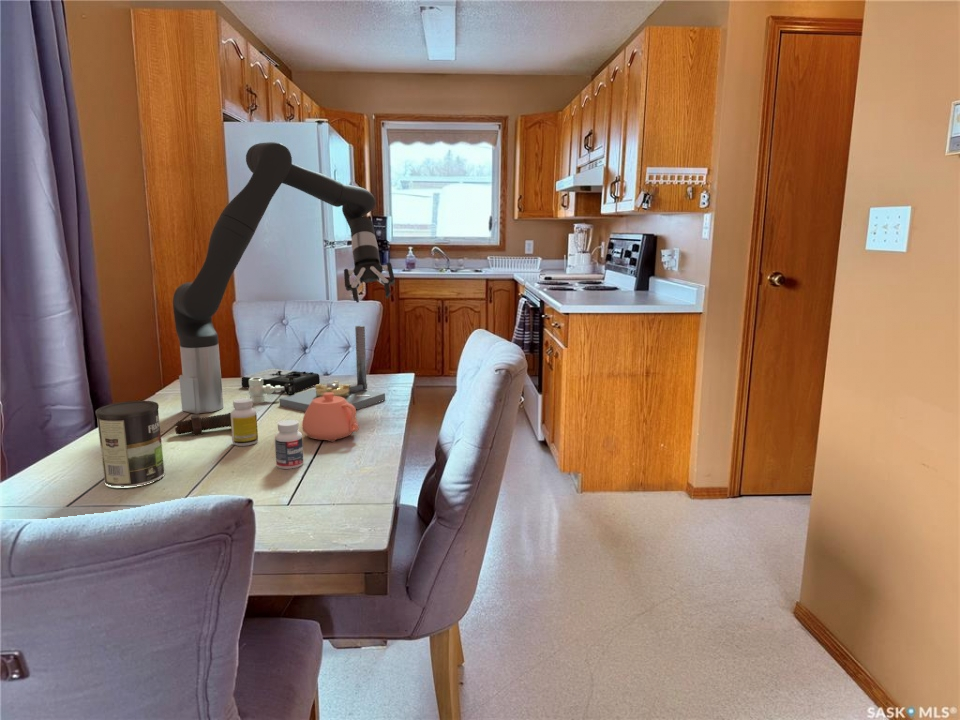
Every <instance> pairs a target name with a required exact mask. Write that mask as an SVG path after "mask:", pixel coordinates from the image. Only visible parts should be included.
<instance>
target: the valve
mask: <svg viewBox="0 0 960 720" xmlns="http://www.w3.org/2000/svg"><path fill="white" fill-rule="evenodd" d="M289 381H290V382H287V383H286V384H285V385H284V387H280V385H277V386H275V387H273V386H270V384H266V386H263V384H264V383H263V378H251V379H249V385H250V387H249V388H248V395H249V399H252V403H253V404H262V403H264V402H265V400H266V399H265V395H266V396H271V395H272V393H274V392H275V393H282V392H281V390H284V392H283V393H285V392H286V393H285V394H286V395H287V396H291V395H294V394H295V393H294V392H295V388H294V380H293V376H289ZM288 391H290V393H288Z"/></svg>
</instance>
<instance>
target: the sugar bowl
mask: <svg viewBox="0 0 960 720" xmlns="http://www.w3.org/2000/svg"><path fill="white" fill-rule="evenodd" d="M304 412H305V413H304V414H303V418H302V424H301V429H302V431H303V432H304V433H305V434H306V435H307V436H308V437H309V438H311V439H313V440H314V439H315V440H319V441H320V440H321V441H323V440H324V441H327V442H329V441H333V442H336V441H337V440H338V439H344V438H346V437H348V436H351V434H353V433H355V432H358V430H359V429H360V427H359V425H358V421H357V410H356V409H355V407H354V406H353V405H352V404H349V403H348V402H347V401H346V400H345V398H343V397H340V396H334V393H332V392H327V393H324V394H323V397H318V398H315V399H314V400H313V401H312V402H311V403H310V405H309V407H308V408H307V410H306V411H304ZM335 440H336V441H335Z"/></svg>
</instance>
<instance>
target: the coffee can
mask: <svg viewBox="0 0 960 720" xmlns="http://www.w3.org/2000/svg"><path fill="white" fill-rule="evenodd" d="M159 407H160V406H159V403H158V402H156V401H152V400H151V401H150V400H128V401H122V402H116V403H110V404H107V405H103V406H101V407H98V408H97V409H96V410H95V416H96V419H97V429H98V436H99V437H98V439H99V444H100V453H101V461H102V468H103V477H104V482H105V483H106V484H108V485H111V486H121V487H124V486H137V485H144V484H147V483H150V482H153V481H156V480H158V479H160V478H161V477H163V475H164V474H166V472H165V467H164V466H165V465H164V455H163V445H162V435H161V423H160V415H159ZM163 478H164V477H163ZM160 480H161V479H160Z"/></svg>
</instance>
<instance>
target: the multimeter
mask: <svg viewBox="0 0 960 720" xmlns="http://www.w3.org/2000/svg"><path fill="white" fill-rule="evenodd" d="M289 376H293V380H294V388H295V392H296V393H298V391H299V392H301V391H304V390H306V388H307V389H309V388H308V387H310V388H312V387H311V386H313V385H316V384H319V383H320V380H321V379H320V374H319V373H315V372H310V371H309V372H307V371H297V370H296V371H295V370H286V369H277V368H268V369H265V370H261V371H257V372H254V373H250V374H248V375H247V374H246V375H244V376H242V377H241V386H242V388H243V387H248V388H247V389H249V387H250V385H249V379H251V378H263V383H264V384H263V386H266V384H270V386H273V387H275V386H277V385H280V387H284V385H285V384H286V383H287V382H290V381H289ZM320 384H321V383H320ZM313 387H314V386H313ZM303 389H304V390H303ZM295 392H294V394H296V393H295ZM280 393H285V392H284V390H281V392H280ZM288 393H290V391H288Z"/></svg>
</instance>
